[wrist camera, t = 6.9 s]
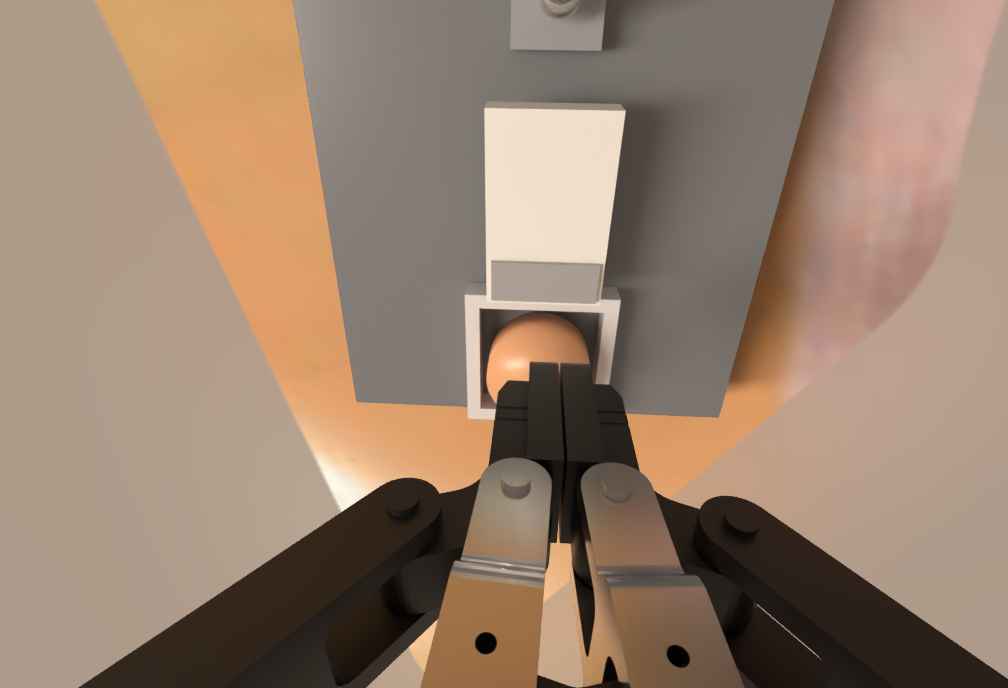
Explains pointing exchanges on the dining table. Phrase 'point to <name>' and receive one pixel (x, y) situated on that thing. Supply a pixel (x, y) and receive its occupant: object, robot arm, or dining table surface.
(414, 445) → the dining table surface
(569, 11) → the toggle lever
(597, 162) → the rocker switch
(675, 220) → the control panel
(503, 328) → the push button
